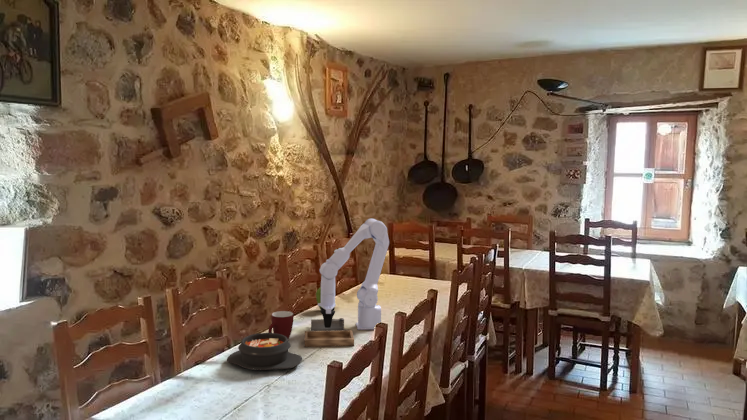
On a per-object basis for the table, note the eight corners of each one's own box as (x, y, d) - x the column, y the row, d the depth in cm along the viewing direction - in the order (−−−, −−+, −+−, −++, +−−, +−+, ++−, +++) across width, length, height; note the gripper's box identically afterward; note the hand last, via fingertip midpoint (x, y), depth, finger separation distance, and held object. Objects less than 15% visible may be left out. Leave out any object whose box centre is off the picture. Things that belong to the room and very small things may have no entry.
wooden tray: (351, 336, 206) (351, 330, 205) (354, 346, 196) (354, 339, 196) (304, 337, 203) (304, 331, 203) (304, 347, 194) (304, 340, 193)
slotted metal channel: (343, 328, 215) (343, 317, 215) (343, 330, 213) (344, 319, 213) (310, 329, 214) (310, 318, 213) (310, 331, 211) (310, 319, 211)
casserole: (216, 371, 171) (216, 345, 170) (242, 350, 189) (242, 327, 188) (290, 379, 165) (290, 353, 165) (309, 357, 184) (310, 334, 183)
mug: (279, 347, 193) (279, 320, 192) (262, 343, 197) (262, 316, 196) (297, 339, 202) (297, 313, 201) (280, 335, 206) (281, 309, 205)
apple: (322, 315, 233) (323, 289, 232) (311, 310, 239) (312, 285, 238) (338, 311, 239) (339, 286, 238) (327, 307, 245) (327, 282, 244)
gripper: (317, 288, 219) (317, 320, 220) (318, 297, 204) (317, 332, 206) (334, 288, 219) (334, 320, 221) (336, 297, 205) (336, 332, 206)
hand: (327, 326), depth 213 cm, fingers closed on slotted metal channel, 2 cm apart
